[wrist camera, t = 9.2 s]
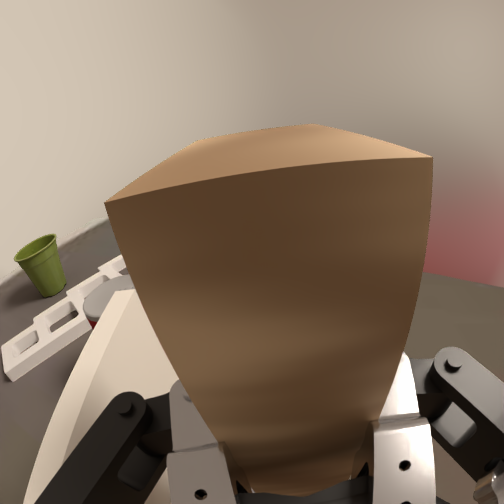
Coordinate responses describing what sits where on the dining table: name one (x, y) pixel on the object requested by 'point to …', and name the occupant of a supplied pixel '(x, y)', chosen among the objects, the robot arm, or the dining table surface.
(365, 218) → the tall wooden block
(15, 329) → the dining table surface
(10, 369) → the holder
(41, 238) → the plant pot
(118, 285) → the canned food
